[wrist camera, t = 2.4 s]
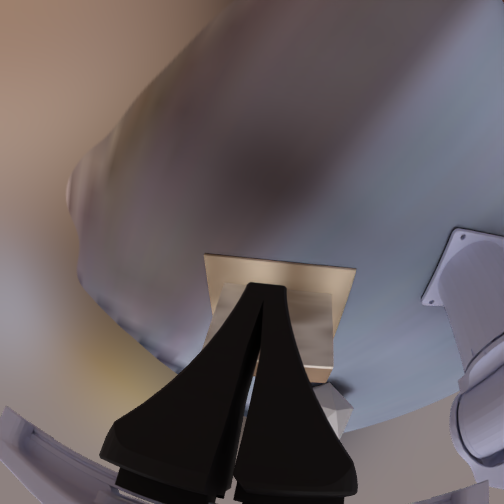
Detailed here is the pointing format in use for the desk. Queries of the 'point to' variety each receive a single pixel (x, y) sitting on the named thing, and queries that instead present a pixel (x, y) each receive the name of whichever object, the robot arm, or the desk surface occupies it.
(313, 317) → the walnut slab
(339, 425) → the die
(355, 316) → the desk surface
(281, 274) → the light wood board
